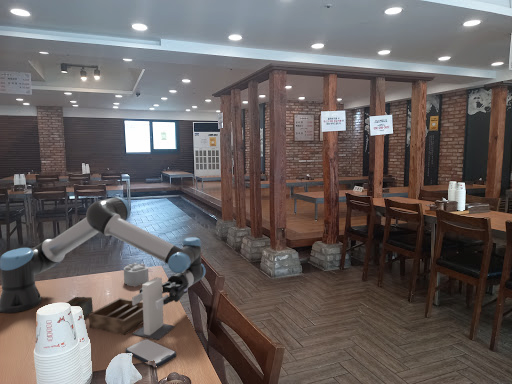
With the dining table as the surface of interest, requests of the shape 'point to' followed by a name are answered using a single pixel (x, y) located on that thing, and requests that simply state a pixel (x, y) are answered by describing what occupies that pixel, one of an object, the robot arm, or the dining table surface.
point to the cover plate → (152, 305)
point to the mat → (156, 334)
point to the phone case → (151, 352)
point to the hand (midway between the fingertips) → (144, 303)
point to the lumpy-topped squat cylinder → (135, 274)
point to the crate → (117, 316)
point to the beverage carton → (82, 304)
